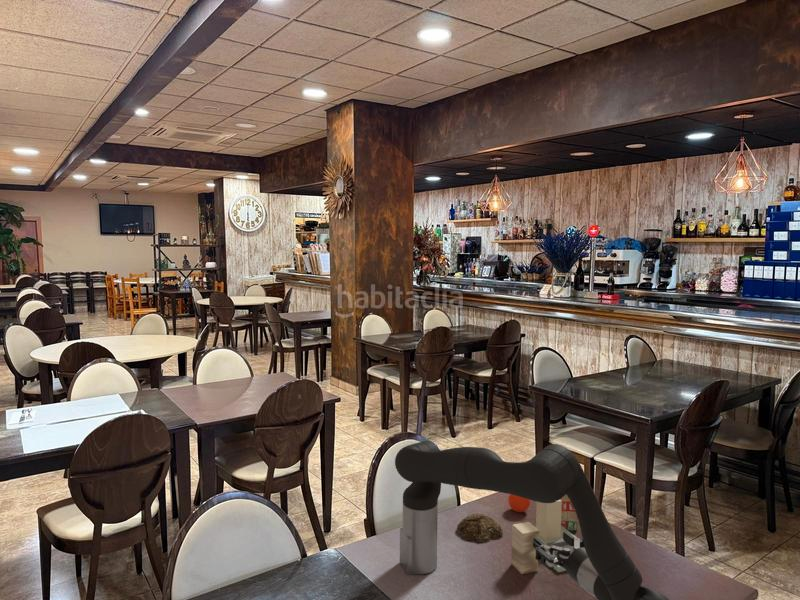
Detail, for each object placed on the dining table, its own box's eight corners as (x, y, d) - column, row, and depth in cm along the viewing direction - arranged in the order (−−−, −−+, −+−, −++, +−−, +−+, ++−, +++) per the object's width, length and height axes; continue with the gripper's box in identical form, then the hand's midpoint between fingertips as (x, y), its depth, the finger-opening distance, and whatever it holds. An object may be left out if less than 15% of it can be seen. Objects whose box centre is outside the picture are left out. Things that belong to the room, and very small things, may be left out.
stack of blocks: (548, 499, 189) (549, 463, 188) (567, 500, 188) (568, 464, 187) (556, 530, 168) (557, 490, 167) (577, 531, 167) (579, 491, 166)
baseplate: (558, 572, 145) (559, 526, 144) (517, 535, 164) (518, 494, 163) (602, 562, 150) (604, 518, 149) (557, 527, 169) (559, 487, 168)
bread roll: (482, 519, 175) (482, 503, 174) (508, 536, 164) (508, 520, 164) (448, 529, 168) (448, 513, 168) (473, 548, 158) (474, 531, 157)
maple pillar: (521, 574, 145) (522, 533, 144) (511, 564, 149) (512, 524, 148) (538, 570, 146) (539, 530, 145) (527, 560, 151) (528, 521, 150)
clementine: (536, 510, 180) (536, 488, 180) (529, 518, 174) (530, 497, 174) (512, 504, 184) (512, 483, 184) (505, 512, 178) (505, 491, 178)
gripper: (619, 551, 124) (574, 518, 139) (565, 563, 119) (524, 528, 134) (618, 583, 124) (573, 547, 139) (564, 596, 119) (523, 558, 135)
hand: (549, 538), depth 137 cm, fingers open, 8 cm apart
